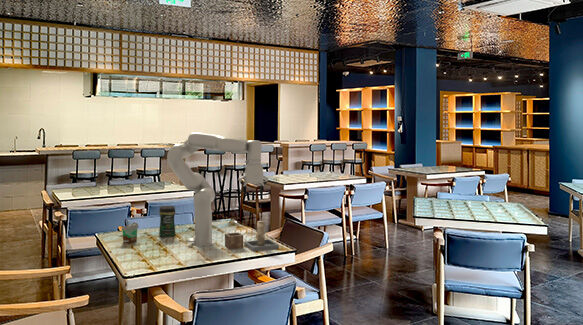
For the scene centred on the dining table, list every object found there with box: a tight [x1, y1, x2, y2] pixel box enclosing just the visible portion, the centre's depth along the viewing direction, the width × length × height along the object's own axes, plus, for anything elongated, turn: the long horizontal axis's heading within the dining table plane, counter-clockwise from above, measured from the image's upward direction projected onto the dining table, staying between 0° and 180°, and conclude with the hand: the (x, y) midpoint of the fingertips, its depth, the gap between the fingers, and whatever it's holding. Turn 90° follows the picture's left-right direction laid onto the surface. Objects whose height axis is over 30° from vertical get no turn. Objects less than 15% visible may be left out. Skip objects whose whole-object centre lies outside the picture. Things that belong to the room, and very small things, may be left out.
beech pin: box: [256, 220, 266, 246], centre depth 257 cm, size 4×4×14 cm
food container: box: [121, 222, 140, 244], centre depth 272 cm, size 12×6×10 cm, turn 168°
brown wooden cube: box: [224, 232, 244, 251], centre depth 257 cm, size 8×8×8 cm
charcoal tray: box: [243, 238, 280, 252], centre depth 258 cm, size 15×14×3 cm
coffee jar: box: [158, 205, 176, 238], centre depth 286 cm, size 10×8×19 cm
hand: (253, 193), depth 262 cm, fingers open, 9 cm apart
